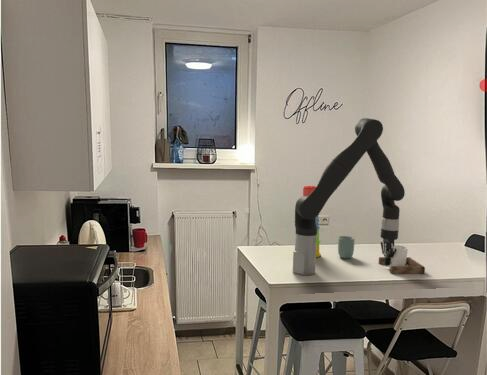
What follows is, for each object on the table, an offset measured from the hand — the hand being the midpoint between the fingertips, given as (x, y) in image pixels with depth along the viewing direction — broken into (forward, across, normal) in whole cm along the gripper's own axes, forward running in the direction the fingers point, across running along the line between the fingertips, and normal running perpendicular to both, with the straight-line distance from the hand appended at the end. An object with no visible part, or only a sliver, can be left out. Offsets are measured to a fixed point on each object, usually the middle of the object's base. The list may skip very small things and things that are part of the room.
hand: (386, 265), depth 193 cm
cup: (+2, +16, +14) cm, 22 cm away
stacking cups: (+2, +20, +31) cm, 37 cm away
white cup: (+2, 0, -5) cm, 5 cm away
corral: (+2, 0, -7) cm, 7 cm away
